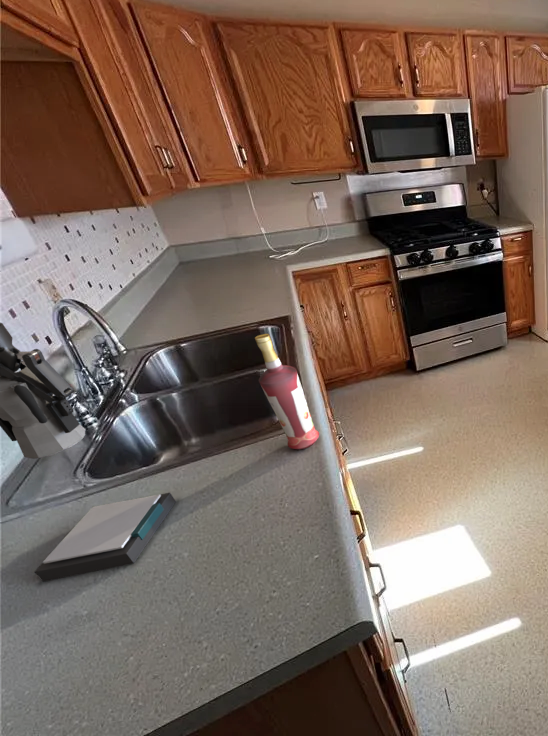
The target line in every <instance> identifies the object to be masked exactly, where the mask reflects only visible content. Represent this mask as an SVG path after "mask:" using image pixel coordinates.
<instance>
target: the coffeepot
mask: <svg viewBox="0 0 548 736" xmlns="http://www.w3.org/2000/svg"><path fill="white" fill-rule="evenodd" d="M17 372H18V371H16V372H15V373H17ZM53 396H54V394H53ZM48 404H49V402H48V401H46V400H45V399H43V398H42V397H40V396H39V395H37V394H36V393H34V392H33V391H31V390H30V389H29V388H28V386H27V384H26V383H21V382H18V381H16V380H11V379H9V378H7V377H6V376H4V377H3V376H0V418H1V419H2V420H5V421H9V422H10V424H11V425H12V426H13V427H12V431H13V433H14V435H15V438H16V440H17V441H16V442H17V444H18V447H19V449H20V451H21V453H22V455H23V457H24V458H27V459H31V460H32V459H33V460H36V459H43V458H47V457H51V456H54V455H57V454H58V453H62V452H63V451H66V450H68V449H70V448H71V447H73V446H75V445H76V444H78V443H79V442H81V441H82V440H83V439H84V438H85V436H86V430H87V429H86V428H85V427H84V426H83V425H81V424H80V425H78V426H77V427H76V428H75V429H74V430H72V431H71V432H70V433H65V432H64V430H63V429H62V427H61V426H60V425H59V423H58V422H57V421H56V419H55V418H54V416H53V415H52V414H51V412H50V411H49V409H48V408H47V407H46V405H48Z"/></svg>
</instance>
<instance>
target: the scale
mask: <svg viewBox="0 0 548 736" xmlns="http://www.w3.org/2000/svg"><path fill="white" fill-rule="evenodd" d="M176 502H177V501H176V499H175V498H174V496H173V494H172V493H171V492H165V493H160V494H155V495H149V496H144V497H138V498H133V499H128V500H121V501H115V502H110V503H106V504H105V503H104V504H100V505H96V506H94V505H93V506H92V507H90V509H89V510H88V511H87V512H86V513H85V514H84V516H83V517H82V518H81V519H80V520H79V521H78V522H77V523H76V525H75V526H74V527H72V529H71V530H70V531H69V532H68V533H67V534H66V535H65V537H64V538H62V540H61V541H60V542H59V543H58V544H57V546H55V548H54V549H53V550H52V551H51V552H50V553H49V554H48V555H47V557H45V558H44V560H43V561H42V562H41V564H40V565H39V566H38V567H37V568H36V569H35V570H34V571H33V572H34V574H35V575H36V576H37V577H38V578H39V579H40V580H41V581H42V582H48V581H52V580H58V579H63V578H68V577H72V576H79V575H82V574H88V573H93V572H97V571H102V570H107V569H113V568H118V567H122V566H127V565H133V564H135V563H136V561H137V559H138V558H139V557H140V555H141V554H142V552H143V551H144V550H145V548H146V547H147V545H148V543H150V541H151V539H152V538H153V536H154V535H155V533H156V532H157V530H158V529H159V527H160V526H161V524H162V523H163V522H164V520H165V519H166V517H167V516H168V514H169V513H170V511H171V510H172V509H173V507H174V506H175V504H176Z"/></svg>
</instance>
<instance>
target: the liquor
mask: <svg viewBox="0 0 548 736" xmlns="http://www.w3.org/2000/svg"><path fill="white" fill-rule="evenodd" d="M254 339H255V340H254V341H255V342H256V345H257V347H258V348H259V350H260V351H261V354H262V358H263V359H264V364H265V367H266V370H265V371H264V372H263V373H262V374H261V375H260V376H259V378H258V383H259V385H260V386H261V388H262V390H263V392H264V395H265V397H266V399H267V401H268V403H269V405H270V407H271V408H272V411H273V412H274V413H275V416H276V418H277V420H278V422H279V424H280V427H281V428H282V430H283V432H284V435H285V437H286V439H287V446H288V448H289V449H293V450H306V449H308V448H310V447H312V446H313V445H314V444H315V443H316V441H317V440H318V439H319V437H320V432H319V431H318V430H317V429H316V427H315V425H314V422H313V419H312V415H311V412H310V410H309V407H308V403H307V400H306V396H305V393H304V389H303V386H302V384H301V380H300V377H299V375H298V371H297V368H296V367H295V366H291V365H286V364H282V362H281V360H280V358H279V356H278V354H277V352H276V351H275V349H274V344H273V341H272V340H273V339H272V338H271V336H270V333H262V334H258V335H257V336H255V337H254Z"/></svg>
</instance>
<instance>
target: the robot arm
mask: <svg viewBox="0 0 548 736" xmlns="http://www.w3.org/2000/svg"><path fill="white" fill-rule="evenodd" d="M13 339H14V338H13V336H12V335H11V333H10V332H9V330H8V329H7V327H6V326H5V325H4V323H2V322H0V376H3V377H4V376H6V377H7V378H9V379H11V380H16V381H18V382H21V383H26V384H27V386H28V388H29V389H30V390H31V391H33V392H34V393H36V394H37V395H39V396H40V397H42V398H43V399H45V400H46V401H48V402H49V404H48V405H46V407H47V408H48V409H49V411H50V412H51V414H52V415H53V416H54V418H55V419H56V421H57V422H58V423H59V425H60V426H61V427H62V429H63V430H64V432H65V433H70V432H71V431H72V430H74V429H75V428H76V427H77V426H78V425H81V423H80V422H79V421H78V419H77V418H76V416H75V415H74V414H73V413H74V408H73V407H72V405H71V403H70V402H69V401H68V399H67V398H68V397H70V396H71V395H72V394H73V393H75V389H74V388H73V386H71V384H69V383H68V382H67V381H66V380H65V378H63V376H62V375H61V374H60V373H59V372H58V371H57V370H56V369H55V368H54V367H53V366H52V364H50V363H49V362H48V361H47V360H46V359H45V357H44V354H43V351H42V350H41V349H38V348H34V349H32V350H30V351H21V350H20V349H18V348H17V347H15V346H14V345H13ZM15 372H17V373H15ZM53 394H54V396H53ZM12 427H13V426H12V425H11V424H10V422H9V421H5V420H2V419H1V418H0V428H1V430H3V432H4V433H5V435H6V436H8V439H10V441H12V442H17V440H16V438H15V435H14V433H13V431H12Z"/></svg>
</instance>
